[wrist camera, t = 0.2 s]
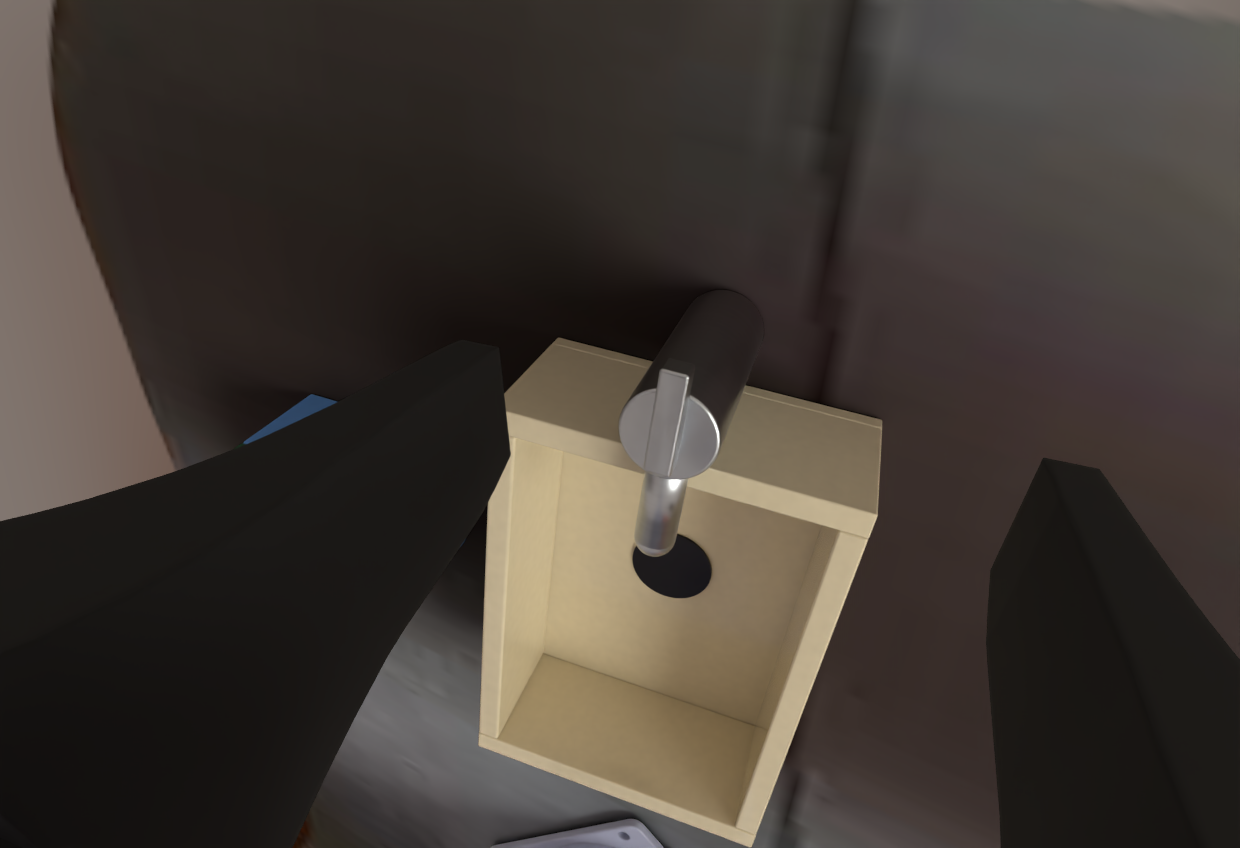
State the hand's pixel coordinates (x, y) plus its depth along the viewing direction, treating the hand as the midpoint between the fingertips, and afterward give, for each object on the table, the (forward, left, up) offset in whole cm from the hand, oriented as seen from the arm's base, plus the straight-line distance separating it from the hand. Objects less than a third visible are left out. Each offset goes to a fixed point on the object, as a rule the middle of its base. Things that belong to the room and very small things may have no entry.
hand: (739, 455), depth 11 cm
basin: (-9, -7, -10) cm, 15 cm away
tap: (-6, -3, -10) cm, 12 cm away
